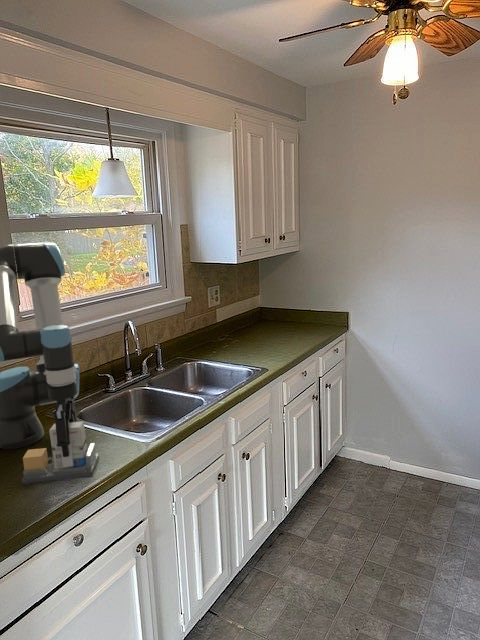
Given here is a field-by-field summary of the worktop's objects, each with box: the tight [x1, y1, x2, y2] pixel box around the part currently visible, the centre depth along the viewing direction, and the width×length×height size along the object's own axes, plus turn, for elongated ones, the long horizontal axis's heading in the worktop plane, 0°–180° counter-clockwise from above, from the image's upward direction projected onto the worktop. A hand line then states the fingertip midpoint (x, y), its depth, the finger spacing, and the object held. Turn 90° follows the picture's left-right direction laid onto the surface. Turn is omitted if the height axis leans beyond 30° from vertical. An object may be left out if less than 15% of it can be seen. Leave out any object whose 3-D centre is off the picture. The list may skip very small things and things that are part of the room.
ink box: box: [48, 421, 88, 469], centre depth 136 cm, size 9×5×12 cm, turn 95°
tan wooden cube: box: [22, 447, 49, 471], centre depth 136 cm, size 5×5×4 cm
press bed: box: [21, 442, 100, 485], centre depth 137 cm, size 11×18×6 cm, turn 97°
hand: (71, 459), depth 137 cm, fingers open, 7 cm apart
